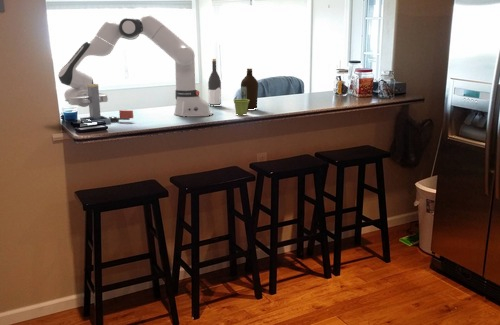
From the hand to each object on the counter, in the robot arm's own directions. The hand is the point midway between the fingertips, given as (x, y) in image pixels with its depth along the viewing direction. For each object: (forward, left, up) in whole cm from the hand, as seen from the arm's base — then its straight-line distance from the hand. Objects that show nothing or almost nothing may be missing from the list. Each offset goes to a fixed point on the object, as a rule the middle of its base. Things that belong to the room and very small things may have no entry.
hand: (94, 100), depth 253 cm
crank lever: (-12, -4, -10) cm, 16 cm away
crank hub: (-7, -5, -12) cm, 15 cm away
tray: (+1, -1, -12) cm, 12 cm away
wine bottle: (-59, -64, -12) cm, 88 cm away
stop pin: (+1, -1, -11) cm, 11 cm away
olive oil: (-81, -47, -12) cm, 95 cm away
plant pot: (-76, -26, -12) cm, 81 cm away
